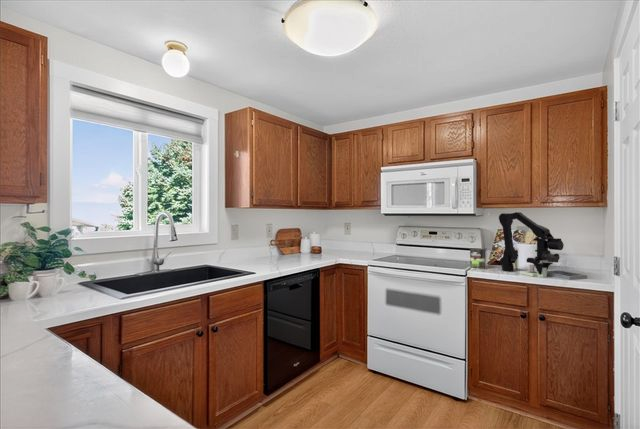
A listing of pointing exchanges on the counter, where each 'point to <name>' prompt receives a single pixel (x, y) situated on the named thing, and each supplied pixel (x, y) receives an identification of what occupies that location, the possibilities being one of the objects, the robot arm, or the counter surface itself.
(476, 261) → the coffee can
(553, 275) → the tray
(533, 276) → the stake stand
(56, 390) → the counter surface
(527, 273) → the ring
